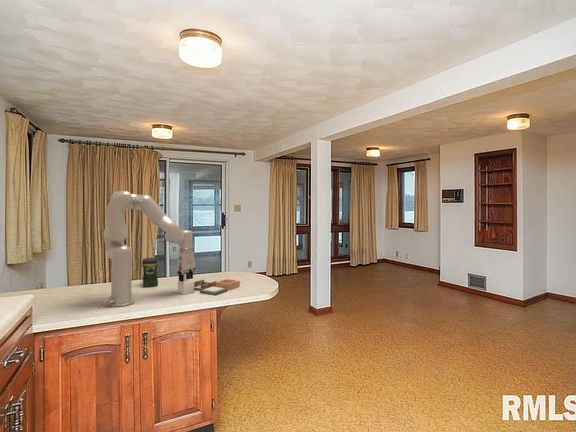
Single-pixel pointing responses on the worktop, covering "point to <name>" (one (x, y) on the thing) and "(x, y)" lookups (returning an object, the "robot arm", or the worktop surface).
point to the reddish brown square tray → (228, 284)
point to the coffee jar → (149, 272)
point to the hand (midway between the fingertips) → (185, 279)
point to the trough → (206, 284)
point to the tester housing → (213, 292)
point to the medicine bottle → (186, 284)
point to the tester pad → (213, 289)
